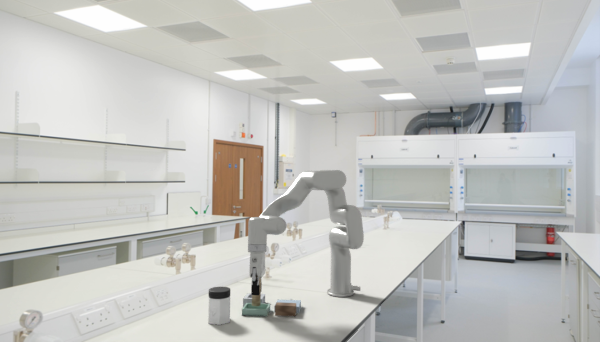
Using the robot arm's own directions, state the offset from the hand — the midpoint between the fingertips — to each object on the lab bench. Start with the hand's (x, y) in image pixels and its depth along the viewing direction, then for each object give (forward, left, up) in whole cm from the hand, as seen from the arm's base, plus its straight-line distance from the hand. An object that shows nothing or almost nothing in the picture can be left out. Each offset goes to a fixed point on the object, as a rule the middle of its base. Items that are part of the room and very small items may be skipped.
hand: (256, 293), depth 166 cm
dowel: (0, 0, -5) cm, 5 cm away
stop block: (-12, 0, -8) cm, 14 cm away
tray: (0, 0, -8) cm, 8 cm away
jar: (+12, +11, -8) cm, 18 cm away
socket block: (+3, -11, -8) cm, 14 cm away
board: (-12, -6, -8) cm, 16 cm away
